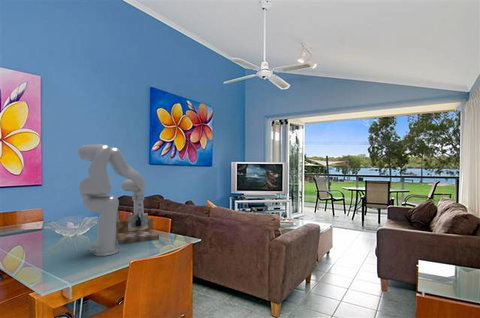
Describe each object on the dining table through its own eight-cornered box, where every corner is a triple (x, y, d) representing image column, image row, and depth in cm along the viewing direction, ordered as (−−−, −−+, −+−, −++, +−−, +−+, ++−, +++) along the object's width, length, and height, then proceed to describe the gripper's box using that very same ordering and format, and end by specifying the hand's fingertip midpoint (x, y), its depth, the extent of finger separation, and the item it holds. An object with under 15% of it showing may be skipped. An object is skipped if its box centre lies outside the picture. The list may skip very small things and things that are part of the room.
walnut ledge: (119, 244, 164) (119, 227, 164) (115, 237, 181) (116, 221, 182) (159, 239, 176) (159, 223, 177) (152, 232, 193) (152, 218, 194)
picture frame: (128, 231, 173) (129, 215, 173) (127, 229, 177) (127, 214, 177) (148, 229, 179) (148, 214, 179) (146, 227, 183) (146, 212, 183)
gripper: (146, 198, 173) (146, 227, 172) (141, 196, 187) (141, 222, 186) (134, 199, 169) (134, 228, 169) (130, 196, 183) (130, 224, 183)
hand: (138, 225), depth 178 cm, fingers closed on picture frame, 2 cm apart
